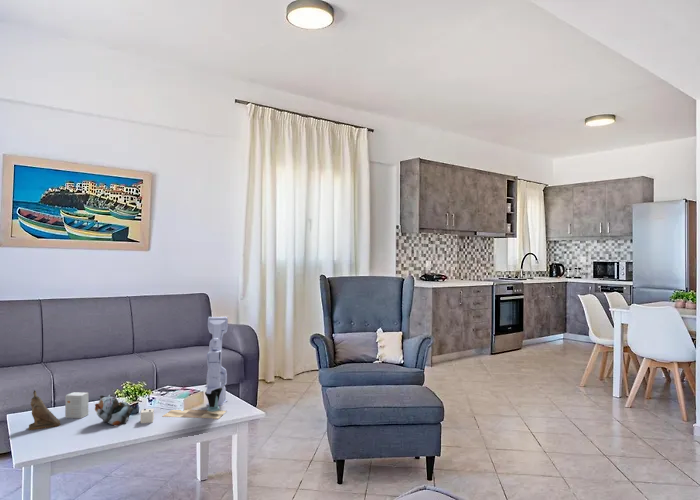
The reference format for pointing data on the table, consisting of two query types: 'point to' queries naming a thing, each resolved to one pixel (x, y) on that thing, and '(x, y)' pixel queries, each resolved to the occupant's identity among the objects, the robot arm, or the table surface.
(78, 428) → the table surface
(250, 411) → the table surface
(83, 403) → the small box
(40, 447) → the table surface
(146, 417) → the cream block
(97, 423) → the table surface
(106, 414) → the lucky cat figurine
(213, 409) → the pawn
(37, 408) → the brown carved statuette
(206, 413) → the game board
